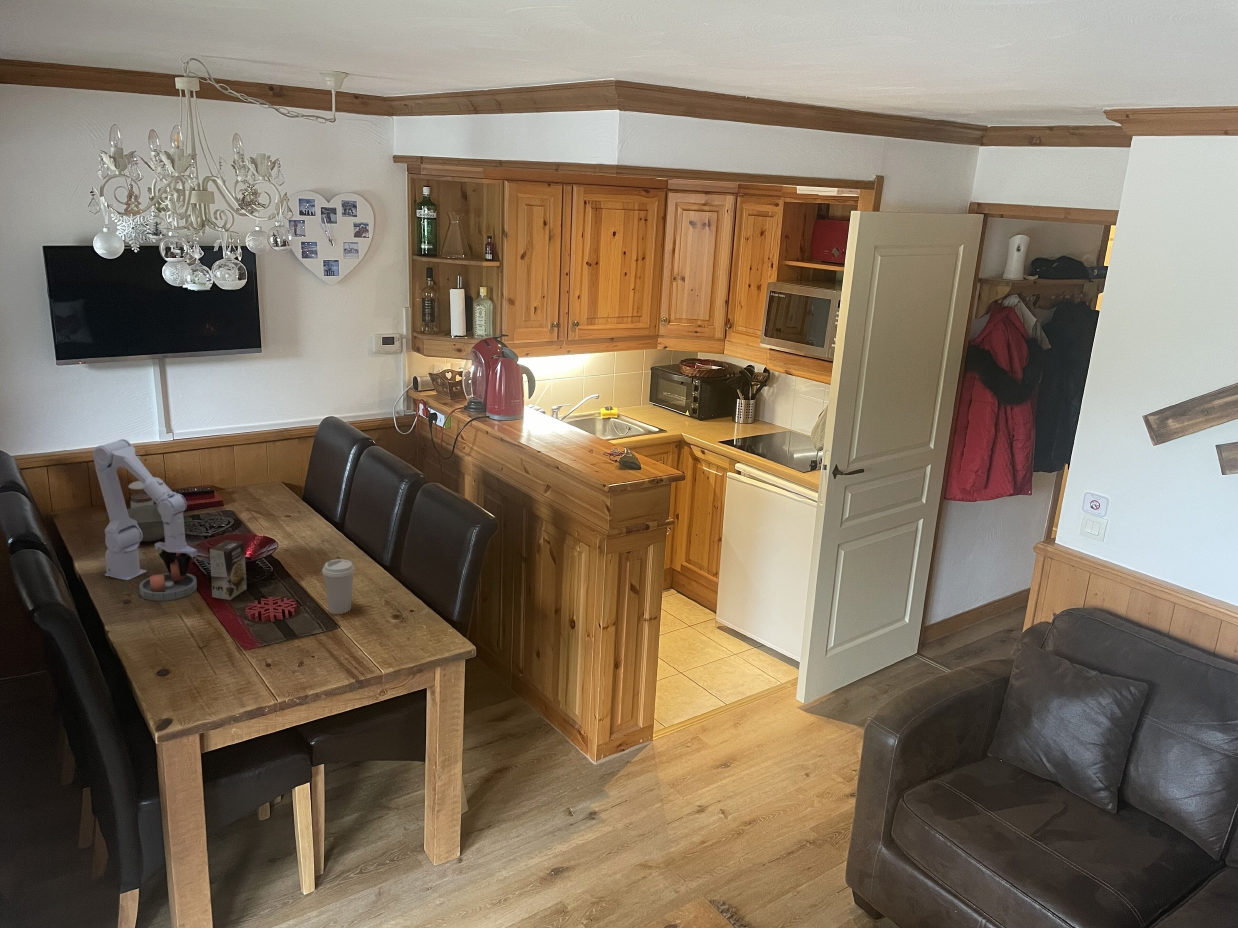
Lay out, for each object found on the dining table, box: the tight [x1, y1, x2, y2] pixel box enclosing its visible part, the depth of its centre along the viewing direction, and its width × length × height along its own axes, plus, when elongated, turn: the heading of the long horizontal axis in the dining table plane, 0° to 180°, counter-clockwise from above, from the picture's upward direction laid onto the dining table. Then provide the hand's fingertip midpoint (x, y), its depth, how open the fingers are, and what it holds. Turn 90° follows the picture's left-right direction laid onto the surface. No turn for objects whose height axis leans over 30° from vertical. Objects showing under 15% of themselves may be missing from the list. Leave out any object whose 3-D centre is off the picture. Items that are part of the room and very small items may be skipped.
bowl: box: [127, 504, 165, 543], centre depth 323 cm, size 19×19×10 cm
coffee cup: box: [321, 558, 356, 615], centre depth 278 cm, size 10×10×15 cm
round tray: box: [138, 572, 198, 602], centre depth 285 cm, size 16×16×2 cm
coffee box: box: [209, 539, 248, 601], centre depth 284 cm, size 9×6×16 cm
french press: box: [127, 455, 155, 508], centre depth 338 cm, size 10×12×25 cm
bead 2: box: [170, 560, 185, 580], centre depth 288 cm, size 4×4×5 cm
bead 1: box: [150, 574, 165, 592], centre depth 281 cm, size 4×4×5 cm
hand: (178, 573), depth 289 cm, fingers closed on bead 2, 4 cm apart
